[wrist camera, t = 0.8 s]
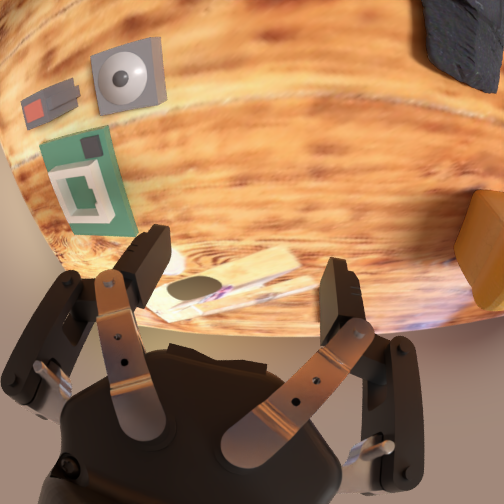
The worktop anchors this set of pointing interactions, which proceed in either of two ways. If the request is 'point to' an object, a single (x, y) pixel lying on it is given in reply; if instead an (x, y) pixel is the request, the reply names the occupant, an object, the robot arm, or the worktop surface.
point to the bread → (483, 249)
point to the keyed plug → (50, 103)
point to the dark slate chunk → (466, 40)
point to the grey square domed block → (129, 76)
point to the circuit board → (89, 183)
